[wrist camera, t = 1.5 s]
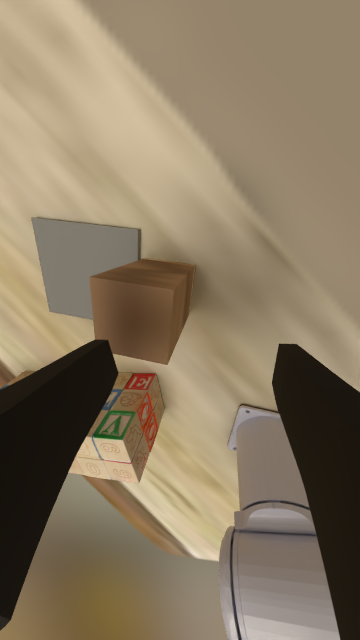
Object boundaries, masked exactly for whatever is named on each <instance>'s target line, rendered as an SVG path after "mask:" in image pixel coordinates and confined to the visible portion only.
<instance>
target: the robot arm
mask: <svg viewBox="0 0 360 640" xmlns="http://www.w3.org/2000/svg"><path fill="white" fill-rule="evenodd" d="M117 377H118V371H117V367H116V364H115V361H114V357H113V354H112V351H111V347H110V344H109V341H108V340H101V339H96V340H94V341H91V342H89V343H87V344H85V345H83V346H81V347H80V348H78V349H76V350H74V351H72V352H71V353H69V354H67V355H65V356H63V357H62V358H60V359H58V360H56V361H54V362H53V363H51V364H49V365H47V366H46V367H44V368H42V369H40V370H38V371H36V372H34V373H32V374H30V375H28V376H27V377H25V378H23V379H21V380H19V381H17V382H15V383H13V384H11V385H9V386H7V387H5V388H3V389H1V390H0V630H1V629H2V628H3V627H5V626H6V625H7V623H8V622H9V621H10V620H11V618H12V615H13V612H14V609H15V606H16V603H17V600H18V597H19V595H20V592H21V589H22V586H23V584H24V581H25V578H26V575H27V573H28V570H29V567H30V564H31V562H32V559H33V556H34V553H35V551H36V548H37V546H38V543H39V541H40V538H41V536H42V533H43V531H44V528H45V526H46V523H47V521H48V518H49V516H50V513H51V511H52V508H53V506H54V504H55V502H56V499H57V497H58V494H59V492H60V490H61V488H62V485H63V483H64V481H65V479H66V476H67V474H68V472H69V470H70V468H71V466H72V463H73V461H74V459H75V457H76V455H77V453H78V451H79V449H80V447H81V445H82V443H83V442H84V440H85V438H86V436H87V435H88V433H89V431H90V429H91V428H92V426H93V424H94V422H95V421H96V419H97V417H98V416H99V414H100V412H101V410H102V408H103V407H104V405H105V403H106V401H107V400H108V398H109V396H110V394H111V392H112V389H113V387H114V384H115V382H116V379H117ZM272 385H273V390H274V395H275V400H276V404H277V408H278V411H279V413H275V412H271V411H266V410H262V409H257V408H253V407H249V406H244V405H242V406H240V407H239V409H238V412H237V416H236V419H235V422H234V425H233V429H232V432H231V435H230V438H229V442H228V449H230V450H233V451H237V466H238V484H239V502H240V511H236V512H234V519H235V526H230V527H228V529H227V530H226V533H225V535H224V537H223V539H222V542H221V547H220V557H219V586H220V599H221V607H222V614H223V620H224V625H225V629H226V632H227V636H228V640H360V392H359V391H357V390H356V389H354V388H353V387H352V386H350V385H349V384H348V383H346V382H345V381H344V380H342V379H341V378H340V377H338V376H337V375H336V374H334V373H333V372H332V371H330V370H329V369H328V368H327V367H325V366H324V365H323V364H321V363H320V362H319V361H318V360H316V359H315V358H314V357H313V356H311V355H310V354H309V353H307V352H306V351H305V350H304V349H302V348H301V347H300V346H298V345H297V344H279V347H278V352H277V358H276V363H275V369H274V374H273V380H272ZM246 410H249V411H246Z"/></svg>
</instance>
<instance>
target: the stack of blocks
mask: <svg viewBox="0 0 360 640" xmlns="http://www.w3.org/2000/svg"><path fill="white" fill-rule="evenodd" d="M34 372H36V371H25V372H23V373H21V374H20V375H19V376H17V377H16V378H15V379H13V380H12V381H10V382H9V383H7V384H6V385H5V386H4V387H2V388H1V389H3V388H5V387H7V386H9V385H11V384H13V383H15V382H17V381H19V380H21V379H23V378H25V377H27V376H28V375H30V374H32V373H34ZM1 389H0V390H1ZM163 413H164V405H163V401H162V397H161V393H160V387H159V383H158V379H157V376H156V374H133V373H118V377H117V379H116V382H115V384H114V387H113V389H112V392H111V394H110V396H109V398H108V400H107V401H106V403H105V405H104V407H103V408H102V410H101V412H100V414H99V416H98V417H97V419H96V421H95V422H94V424H93V426H92V428H91V429H90V431H89V433H88V435H87V436H86V438H85V440H84V442H83V443H82V445H81V447H80V449H79V451H78V453H77V455H76V457H75V459H74V461H73V463H72V466H71V468H70V470H69V472H68V473H75V474H82V475H86V476H91V477H98V478H104V479H113V480H119V481H124V482H131V483H139V482H140V479H141V476H142V474H143V471H144V468H145V465H146V462H147V459H148V456H149V452H151V449H152V447H153V444H154V441H155V438H156V435H157V431H158V428H159V425H160V422H161V419H162V416H163Z"/></svg>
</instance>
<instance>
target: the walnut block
mask: <svg viewBox="0 0 360 640" xmlns="http://www.w3.org/2000/svg"><path fill="white" fill-rule="evenodd" d="M194 273H195V265H193V264H185V263H178V262H170V261H163V260H155V259H148V258H144V259H141V260H138V261H135V262H132V263H129V264H126V265H123V266H120V267H117V268H114V269H111V270H108V271H105V272H102V273H99V274H96V275H93V276H90V277H89V280H90V290H91V301H92V311H93V322H94V332H95V340H96V339H101V340H108V341H109V344H110V347H111V351H112V353H113V354H118V355H123V356H127V357H132V358H137V359H142V360H146V361H151V362H156V363H161V364H165V365H168V362H169V360H170V358H171V355H172V353H173V351H174V348H175V346H176V343H177V341H178V339H179V336H180V334H181V332H182V329H183V327H184V325H185V322H186V320H187V318H188V315H189V312H190V304H191V296H192V289H193V281H194Z"/></svg>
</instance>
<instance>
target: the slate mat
mask: <svg viewBox="0 0 360 640" xmlns="http://www.w3.org/2000/svg"><path fill="white" fill-rule="evenodd" d="M31 219H32V224H33V229H34V234H35V239H36V244H37V249H38V255H39V260H40V265H41V270H42V275H43V280H44V285H45V290H46V296H47V301H48V306H49V311H50V312H54V313H60V314H65V315H70V316H76V317H81V318H86V319H92V320H93V311H92V301H91V290H90V280H89V277H90V276H93V275H96V274H99V273H102V272H105V271H108V270H111V269H114V268H117V267H120V266H123V265H126V264H129V263H132V262H135V261H138V260H140V230H139V229H131V228H122V227H113V226H104V225H95V224H86V223H77V222H69V221H60V220H51V219H42V218H31Z"/></svg>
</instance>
